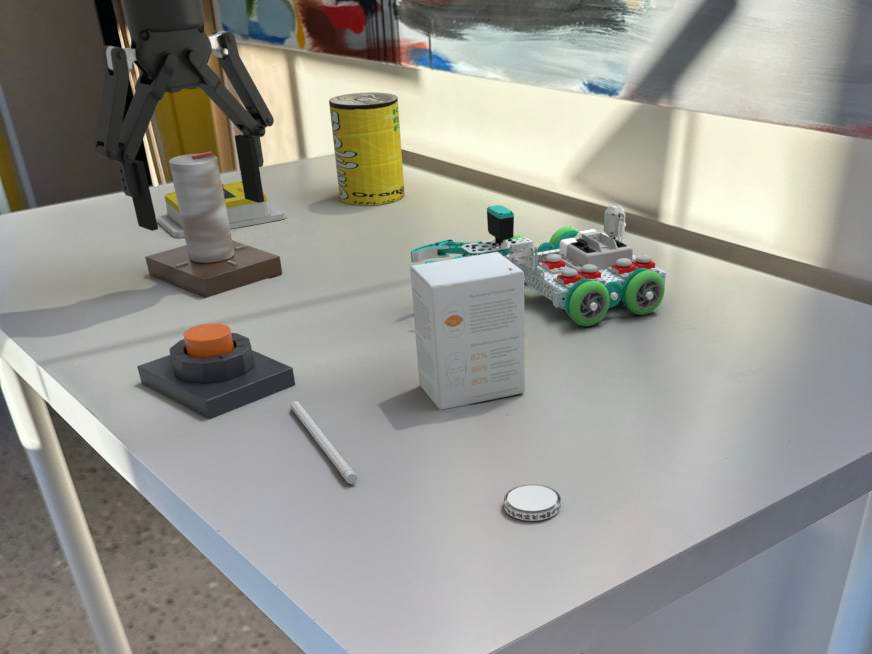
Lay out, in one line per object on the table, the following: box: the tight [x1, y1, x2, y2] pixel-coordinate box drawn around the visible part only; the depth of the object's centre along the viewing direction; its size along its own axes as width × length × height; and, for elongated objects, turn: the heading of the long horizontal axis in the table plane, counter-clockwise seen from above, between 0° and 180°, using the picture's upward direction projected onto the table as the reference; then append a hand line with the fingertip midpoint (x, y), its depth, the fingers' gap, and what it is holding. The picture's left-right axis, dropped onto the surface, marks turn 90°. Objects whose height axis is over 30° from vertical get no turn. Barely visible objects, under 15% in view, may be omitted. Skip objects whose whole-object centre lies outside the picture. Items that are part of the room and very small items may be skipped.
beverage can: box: [328, 91, 405, 206], centre depth 130 cm, size 9×9×12 cm
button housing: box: [136, 332, 296, 420], centre depth 85 cm, size 11×9×4 cm
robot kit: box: [410, 204, 667, 327], centre depth 98 cm, size 19×25×9 cm
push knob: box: [183, 322, 234, 358], centre depth 84 cm, size 4×4×2 cm
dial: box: [168, 151, 234, 263], centre depth 106 cm, size 5×5×10 cm
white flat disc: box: [503, 484, 562, 522], centre depth 68 cm, size 4×4×1 cm
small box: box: [409, 252, 526, 411], centre depth 81 cm, size 8×6×10 cm
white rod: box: [290, 400, 358, 485], centre depth 77 cm, size 1×1×15 cm
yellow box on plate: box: [156, 180, 287, 239], centre depth 126 cm, size 9×4×15 cm
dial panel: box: [144, 239, 283, 299], centre depth 109 cm, size 12×10×2 cm
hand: (203, 213), depth 106 cm, fingers open, 13 cm apart
